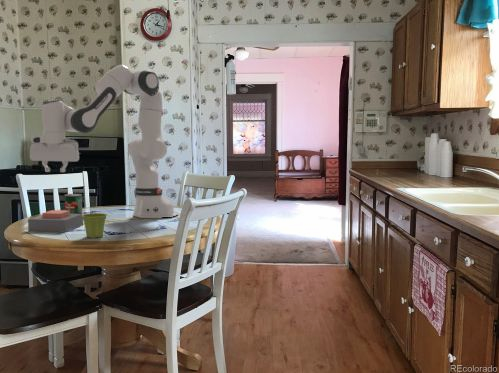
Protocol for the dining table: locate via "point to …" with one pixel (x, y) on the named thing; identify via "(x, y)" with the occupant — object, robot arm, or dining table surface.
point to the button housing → (55, 223)
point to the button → (56, 214)
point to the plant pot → (94, 224)
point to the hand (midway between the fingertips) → (55, 171)
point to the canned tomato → (73, 203)
